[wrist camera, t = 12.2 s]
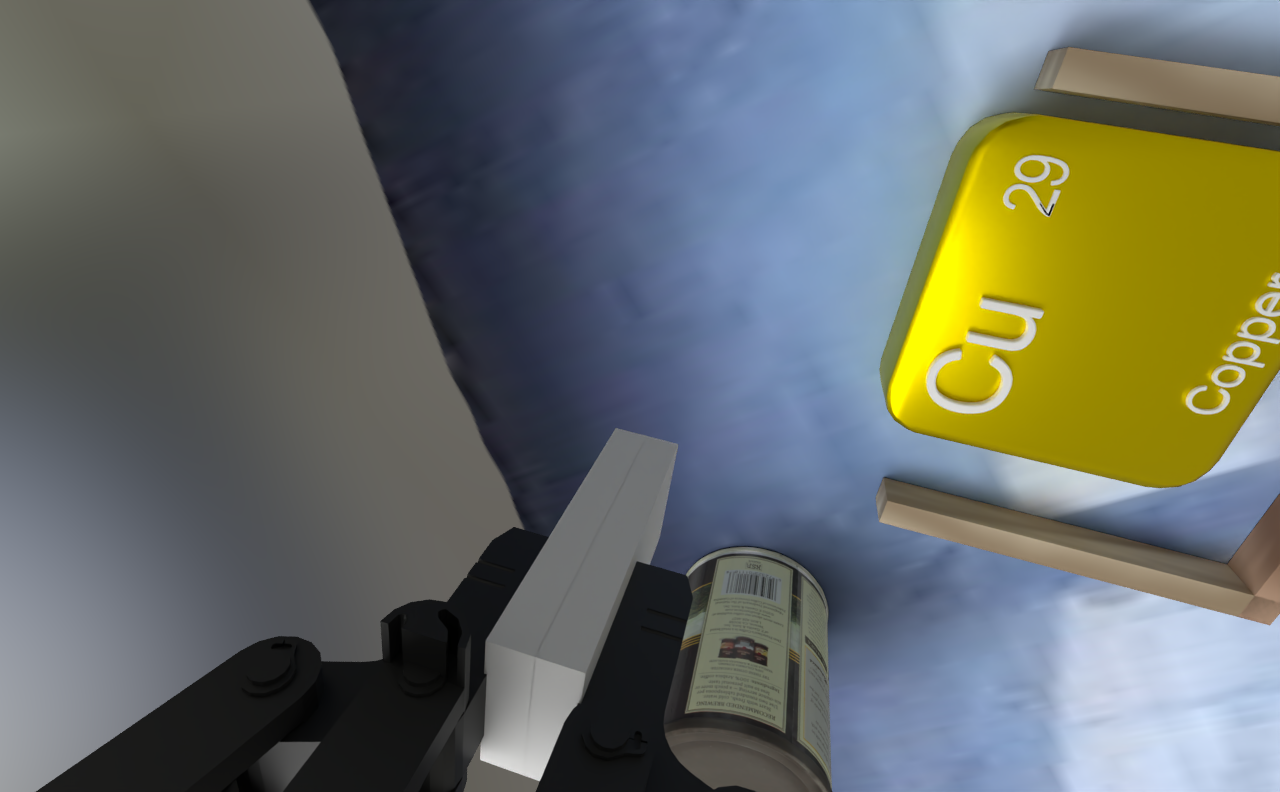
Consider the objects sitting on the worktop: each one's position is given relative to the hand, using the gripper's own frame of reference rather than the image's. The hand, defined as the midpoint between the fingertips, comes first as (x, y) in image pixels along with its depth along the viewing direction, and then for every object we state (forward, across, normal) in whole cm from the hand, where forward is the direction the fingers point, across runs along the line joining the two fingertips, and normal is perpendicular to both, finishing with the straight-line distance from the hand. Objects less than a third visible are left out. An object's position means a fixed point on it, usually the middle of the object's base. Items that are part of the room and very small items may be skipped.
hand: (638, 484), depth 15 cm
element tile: (+23, +16, +2) cm, 28 cm away
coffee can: (+23, +6, -23) cm, 33 cm away
